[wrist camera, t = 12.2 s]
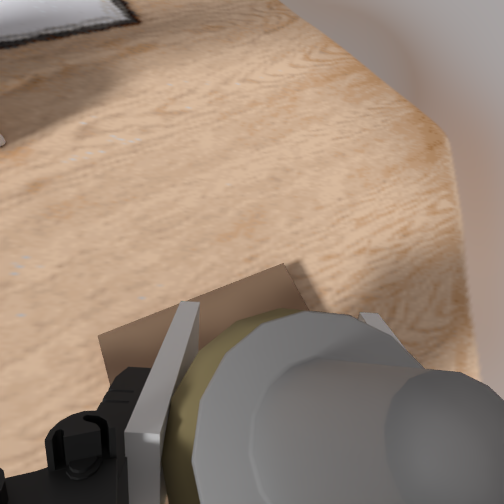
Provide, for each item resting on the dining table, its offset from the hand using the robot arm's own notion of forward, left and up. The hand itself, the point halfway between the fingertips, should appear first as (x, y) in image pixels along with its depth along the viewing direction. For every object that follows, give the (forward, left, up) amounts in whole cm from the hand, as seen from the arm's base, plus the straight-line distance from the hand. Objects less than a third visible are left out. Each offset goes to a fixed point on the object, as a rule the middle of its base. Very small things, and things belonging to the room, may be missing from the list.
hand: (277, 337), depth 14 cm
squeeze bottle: (+3, -2, -7) cm, 8 cm away
